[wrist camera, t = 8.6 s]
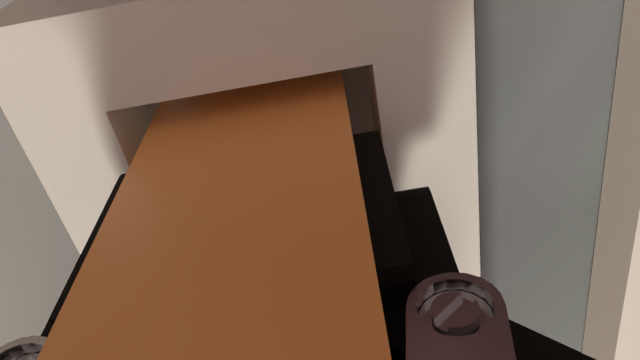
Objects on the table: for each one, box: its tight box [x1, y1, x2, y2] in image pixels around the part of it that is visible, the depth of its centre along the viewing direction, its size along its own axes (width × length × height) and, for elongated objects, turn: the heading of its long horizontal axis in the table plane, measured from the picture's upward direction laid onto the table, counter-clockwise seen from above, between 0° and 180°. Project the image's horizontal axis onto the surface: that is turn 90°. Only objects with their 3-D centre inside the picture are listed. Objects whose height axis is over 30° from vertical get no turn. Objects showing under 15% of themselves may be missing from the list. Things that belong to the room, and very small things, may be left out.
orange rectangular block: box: [37, 70, 392, 360], centre depth 10 cm, size 4×4×8 cm
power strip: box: [0, 0, 480, 277], centre depth 16 cm, size 9×18×4 cm, turn 10°
